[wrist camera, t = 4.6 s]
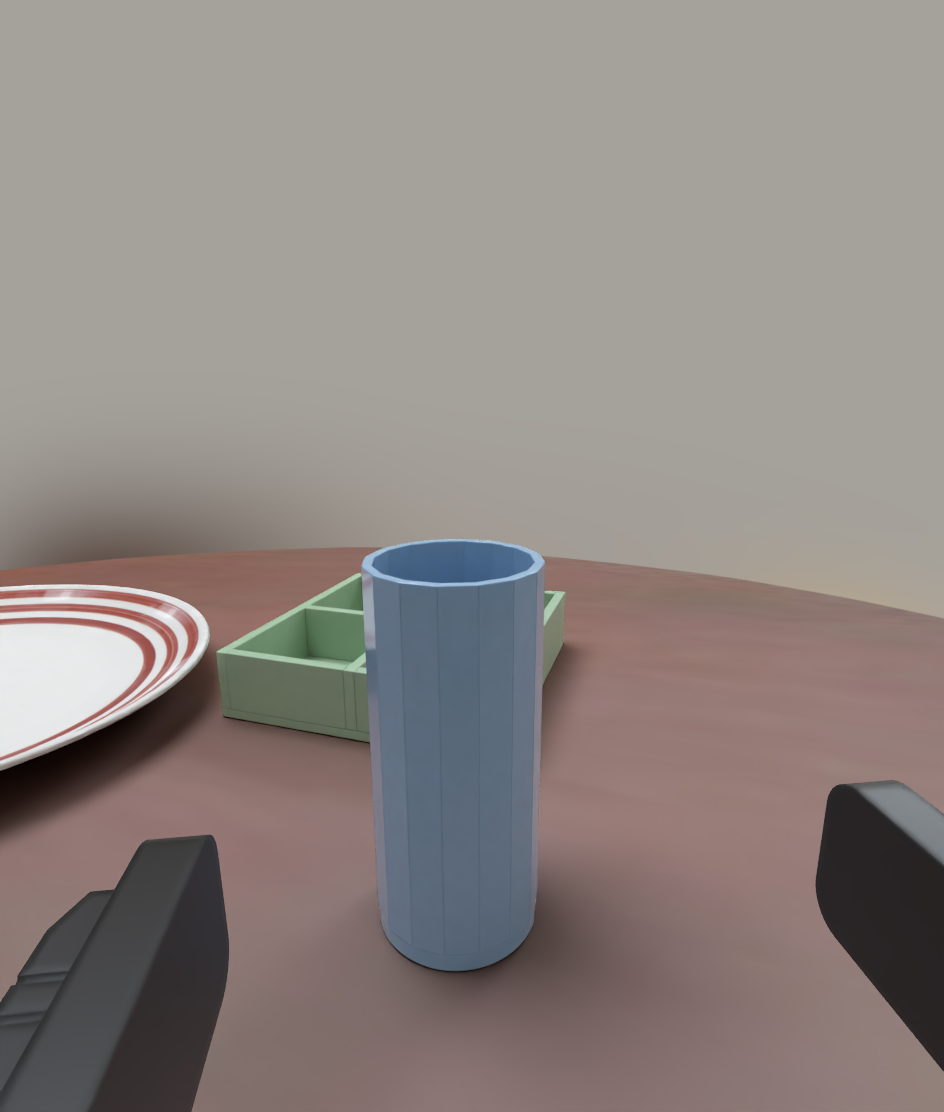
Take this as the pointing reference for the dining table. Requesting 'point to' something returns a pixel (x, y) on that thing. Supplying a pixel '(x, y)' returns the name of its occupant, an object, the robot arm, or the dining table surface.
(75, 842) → the dining table surface
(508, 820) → the tumbler
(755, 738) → the dining table surface
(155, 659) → the dinner plate
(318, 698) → the compartment tray
